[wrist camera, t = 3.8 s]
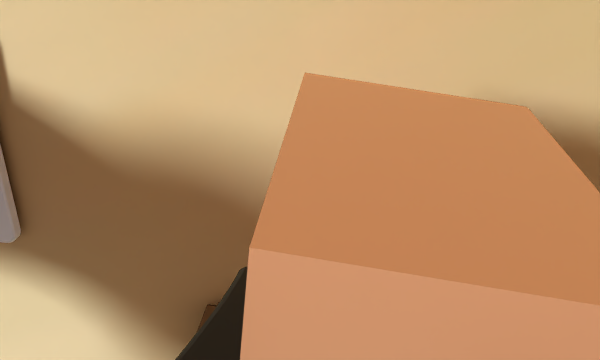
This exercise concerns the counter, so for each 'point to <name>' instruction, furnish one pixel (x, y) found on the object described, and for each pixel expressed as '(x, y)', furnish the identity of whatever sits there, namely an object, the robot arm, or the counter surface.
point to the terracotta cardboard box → (421, 234)
